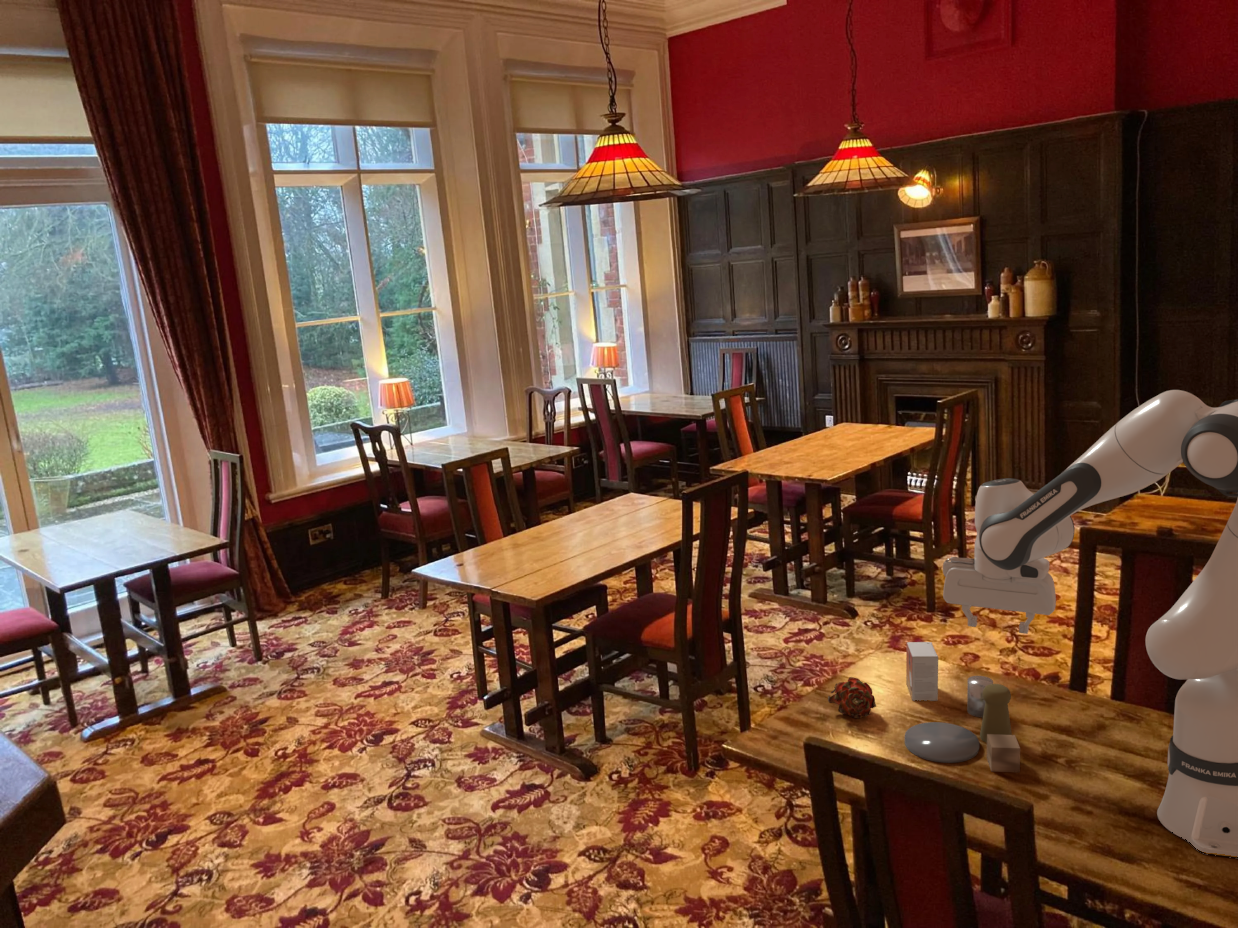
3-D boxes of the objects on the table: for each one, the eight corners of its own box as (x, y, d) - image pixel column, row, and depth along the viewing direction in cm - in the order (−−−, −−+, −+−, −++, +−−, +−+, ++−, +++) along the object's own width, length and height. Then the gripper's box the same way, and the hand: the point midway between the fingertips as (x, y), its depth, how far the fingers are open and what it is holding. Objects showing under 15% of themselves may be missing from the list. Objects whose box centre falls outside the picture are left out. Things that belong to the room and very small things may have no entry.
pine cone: (866, 734, 201) (837, 717, 212) (893, 704, 202) (863, 689, 214) (841, 707, 199) (814, 691, 211) (869, 677, 201) (840, 663, 212)
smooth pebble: (985, 735, 194) (985, 730, 194) (970, 768, 183) (970, 763, 182) (914, 722, 201) (914, 716, 201) (896, 753, 190) (896, 747, 189)
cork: (1007, 730, 196) (1008, 679, 193) (1016, 744, 190) (1017, 693, 188) (976, 730, 196) (977, 680, 194) (984, 745, 191) (985, 693, 188)
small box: (906, 685, 218) (905, 641, 216) (931, 684, 217) (931, 641, 215) (911, 701, 211) (911, 656, 208) (938, 701, 210) (938, 655, 208)
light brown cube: (1014, 758, 185) (1014, 734, 184) (1019, 772, 180) (1020, 748, 179) (986, 757, 186) (987, 733, 185) (991, 771, 181) (991, 747, 180)
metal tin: (994, 708, 205) (995, 678, 203) (990, 718, 201) (990, 687, 199) (969, 704, 207) (970, 674, 206) (964, 714, 203) (965, 683, 202)
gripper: (939, 560, 188) (939, 627, 191) (1053, 571, 178) (1051, 642, 180) (946, 551, 193) (946, 616, 196) (1058, 561, 183) (1056, 630, 186)
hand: (997, 628), depth 188 cm, fingers open, 8 cm apart
